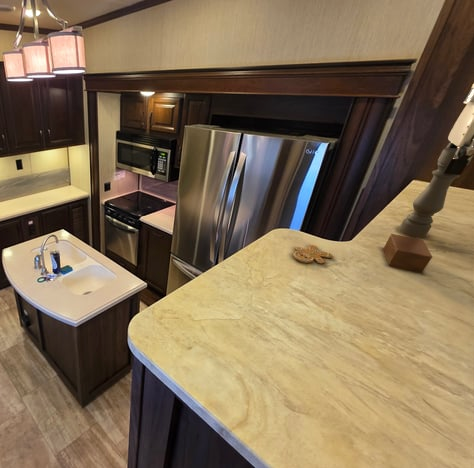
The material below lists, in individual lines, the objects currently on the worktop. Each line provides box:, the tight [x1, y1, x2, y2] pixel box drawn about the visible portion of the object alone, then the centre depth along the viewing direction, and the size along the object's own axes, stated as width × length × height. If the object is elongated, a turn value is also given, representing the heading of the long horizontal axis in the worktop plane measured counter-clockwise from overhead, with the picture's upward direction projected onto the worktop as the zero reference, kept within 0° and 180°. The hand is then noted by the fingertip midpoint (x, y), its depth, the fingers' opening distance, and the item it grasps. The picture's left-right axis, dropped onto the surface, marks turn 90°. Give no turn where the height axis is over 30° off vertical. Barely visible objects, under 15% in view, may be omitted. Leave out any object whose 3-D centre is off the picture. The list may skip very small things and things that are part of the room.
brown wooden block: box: [383, 233, 433, 274], centre depth 76 cm, size 6×9×5 cm
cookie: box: [292, 244, 334, 264], centre depth 80 cm, size 8×1×10 cm
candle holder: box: [398, 147, 474, 239], centre depth 82 cm, size 6×6×25 cm
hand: (448, 169), depth 78 cm, fingers closed on candle holder, 5 cm apart
